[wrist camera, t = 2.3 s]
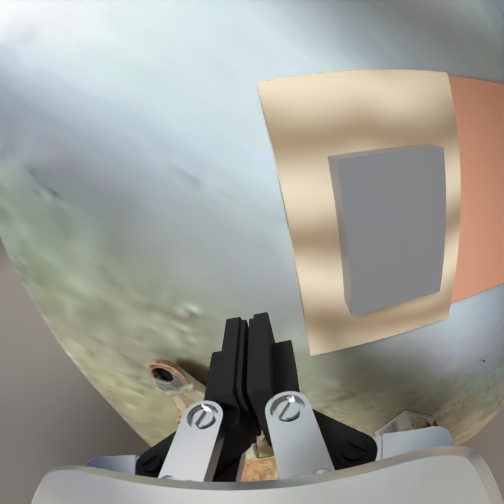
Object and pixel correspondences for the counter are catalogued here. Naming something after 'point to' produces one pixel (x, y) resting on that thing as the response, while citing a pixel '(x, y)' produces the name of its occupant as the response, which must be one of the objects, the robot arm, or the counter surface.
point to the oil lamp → (193, 391)
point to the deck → (321, 192)
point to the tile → (390, 224)
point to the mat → (479, 185)
